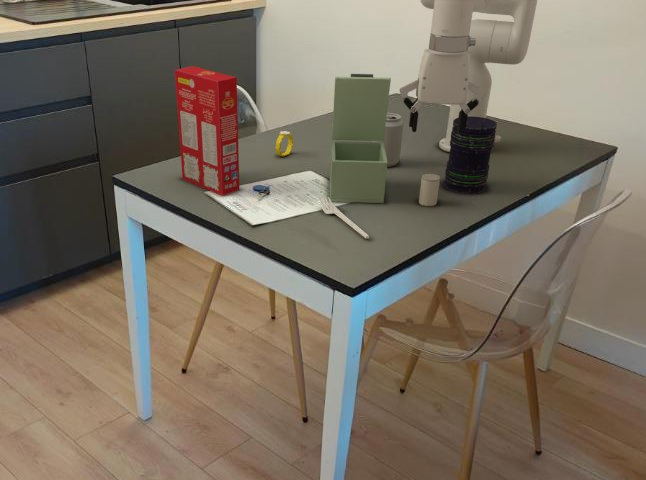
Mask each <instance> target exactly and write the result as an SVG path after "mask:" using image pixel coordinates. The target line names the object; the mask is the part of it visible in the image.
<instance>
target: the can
mask: <svg viewBox="0 0 646 480" xmlns="http://www.w3.org/2000/svg"><path fill="white" fill-rule="evenodd" d="M402 118H403V116H402V115H400V114H398V113H396V112H395V113H394V112H387V117H386V125H385V134H384V141H371V142H382V143H384V148H385V153H386V158H387V168H389V167H394V166H396V165H397V164H398V163H399V162H400V159H401V153H402V152H401V151H402V143H403V134H404V133H403V131H404V121H403V120H402Z"/></svg>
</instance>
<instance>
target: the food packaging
mask: <svg viewBox="0 0 646 480" xmlns="http://www.w3.org/2000/svg"><path fill="white" fill-rule="evenodd" d="M174 79H175V93H176V106H177V121H178V122H177V123H178V136H179V151H180V163H181V164H180V165H181V178H182V180H184V181H185V182H188V183H190V184H193V185H196V186H198V187H200V188H203V189H205V190H208V191H210V192H211V193H215V194H217V195H220V196H225V195H229V194H232V193H235V192H238V191H240V160H239V155H240V154H239V153H240V152H239V118H238V117H239V116H238V77H236V76H233V75H228V74H225V73H221V72H217V71H214V70H209V69H205V68H202V67H198V66H194V65H192V66H187V67H182V68H177V69H174Z"/></svg>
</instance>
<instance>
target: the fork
mask: <svg viewBox="0 0 646 480" xmlns="http://www.w3.org/2000/svg"><path fill="white" fill-rule="evenodd" d="M318 201H319V205H320V206H321V209H322V211H323V213H324V214H325V215H332V214H335V215H336V216H337V217H338V218H339V219H341V220H342V221H343V222H345V223H346V225H348V226H350V227H351V228H352V229H353V230H355V231H356V232H357V233H358V234H359V235H360V236H361V237H363V238H365V240H368V239H370V236H369V234H368V233H366V232H365V231H364V230H363V229H361V227H359V226H358V225H357V224H355V222H353V221H352V220H351V219H350V218H348V217H347V216H346V215H345V214H344V213H343V212H342V211H341V210H340V209H339V208H338V207H336V205H335V204H334V203H333V202H332V201H331V200H330V196H327V198H326V196H324V198H323V197H318Z"/></svg>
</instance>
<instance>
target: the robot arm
mask: <svg viewBox="0 0 646 480" xmlns="http://www.w3.org/2000/svg"><path fill="white" fill-rule="evenodd" d="M419 2H420V3H421V5H422V6H423V7H425V8H426V9H429V10H433V11H432V17H431V18H432V20H431V26H430V27H431V28H430V35H429V43H428V48H425V49H424V51H423V53H422V57H421V61H420V66H419V70H418V76H417V80H414V81H412V82H410V83H408V84H406V85H404V86H402V87H400V88H399V94H400V96H401V99H402V101H403V104H404V105H405V106H406V107H407V109H408V110H409V111H410V113H409V121H408V127H409V128H411V132H412V133H416V132H417V129H418V122H419V121H418V120H419V111H418V110H419V109H420V108H421V107H422V106H423V105H424V104H425V105H450V106H449V113H448V119H447V120H448V121H447V127H446V134H445V137H443V138H442V139H440V140H439V144H438V147H439V148H440V149H441V150H443V151H444V152H448V153H450V148H451V146H450V140H451V132H452V127H453V121H454V119H456V118H458V124H457V131H458V133H460V134H462V132H463V128H466V123H467V117H482V118H487V114H488V108H489V102H490V96H491V90H492V85H493V83H492V81H493V79H492V74H491V72H490V70H489V69H488V67H487V65H486V64H500V65H519V64H521V63H522V62H524V60H525V58H526V56H527V54H528V50H529V46H530V40H531V34H532V30H533V24H534V20H535V15H536V9H537V4H538V0H419ZM474 13H479V14H486V15H499V16H509V17H512V19H513V21H506V20H495V19H492V20H491V19H479V18H477V19H473V14H474ZM412 91H415V96H416V98H415V99H414V100H413V101H412V99H410V97H409V93H411V92H412ZM501 138H502V137H501V135H495V141H494V144H501Z"/></svg>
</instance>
